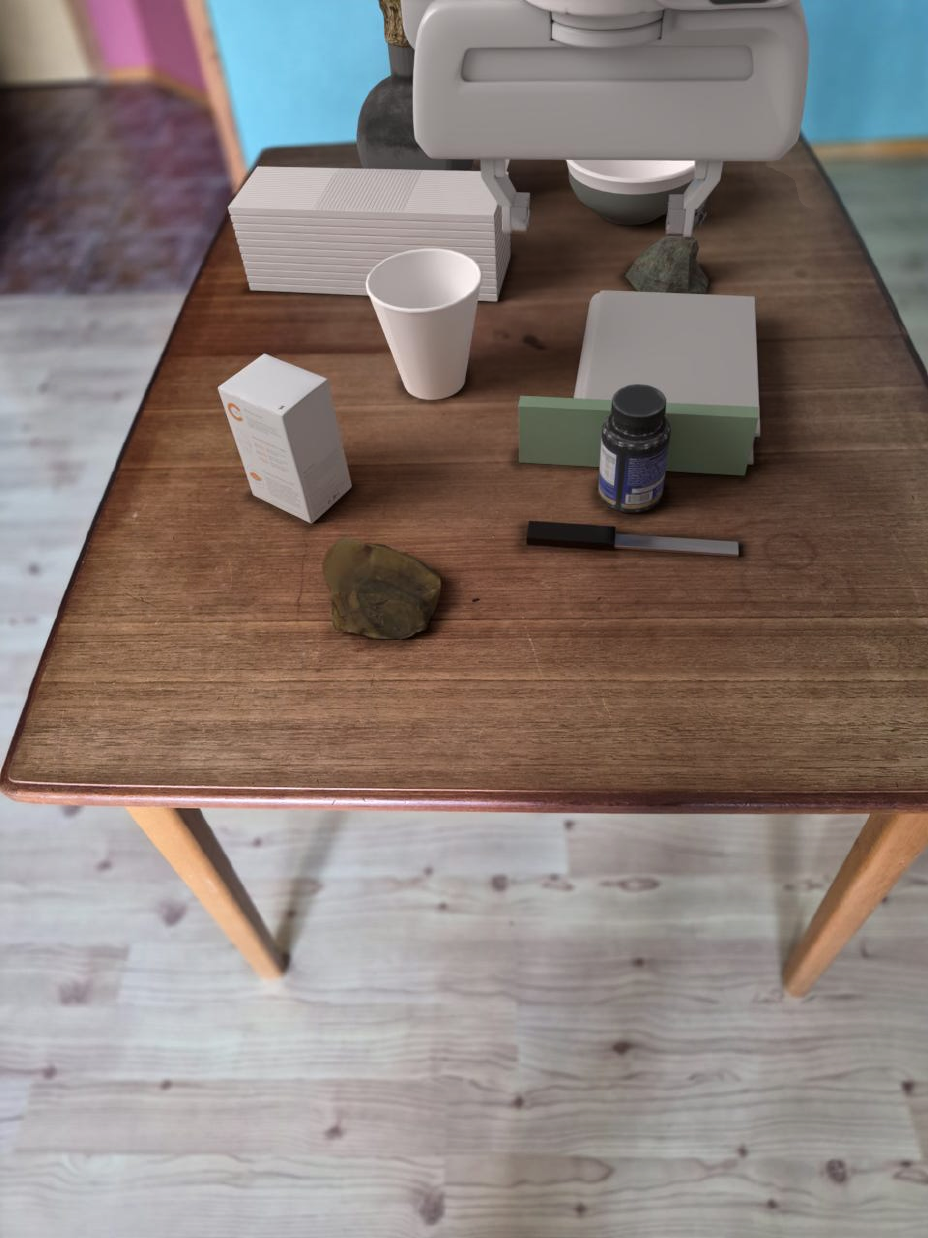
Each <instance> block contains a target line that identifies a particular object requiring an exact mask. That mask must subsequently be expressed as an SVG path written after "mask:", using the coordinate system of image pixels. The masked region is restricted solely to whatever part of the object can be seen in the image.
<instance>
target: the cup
mask: <svg viewBox="0 0 928 1238" xmlns="http://www.w3.org/2000/svg"><path fill="white" fill-rule="evenodd" d="M482 277H483V274H482V271H481V269H480V266H479V265H478V264H477V263H476V262H475V261H474V260H473V259H472V258H470V257H468V256H466V255H465V254H462V253H459V252H456V251H453V250H447V249H439V248H424V249H417V250H410V251H406V252H403V253H399V254H396V255H394V256H391V257H389V258H387V259H385V260H383V261H382V262H381V263H379V264H378V265H376V266H375V267H374V268H373V270H372V271H371V272H370V273H369V275H368V277H367V281H366V289H367V293H368V295H369V296H368V295H367V296H368V297H369V299H370V301H371V304H372V306H373V308H374V311H375V314H376V316H377V320H378V323H379V324H380V327H381V329H382V332H383V334H384V337H385V339H386V342H387V345H388V347H389V350H390V353H391V355H392V357H393V360H394V363H395V365H396V367H397V370H398V373H399V375H400V378H401V381H402V383H403V386H404V388H405V390H406V391H407V392H408V393H409V394H410V395H411V396H413V397H415V398H418V399H422V400H427V401H433V400H434V401H436V400H443V399H446V398H449V397H451V396H453V395H455V394H457V393H458V392H459V391H460V390H462V389H463V387H464V385H465V383H466V375H467V371H468V370H467V369H468V363H469V359H470V358H469V357H470V352H471V351H470V350H471V345H472V339H473V333H474V328H475V327H474V326H475V320H476V314H477V308H478V296H479V290H480V286H481V284H482Z"/></svg>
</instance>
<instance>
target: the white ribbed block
mask: <svg viewBox="0 0 928 1238" xmlns="http://www.w3.org/2000/svg"><path fill="white" fill-rule="evenodd" d="M509 173H510V172H509V171H506V174H507V175H508V177H509V178H510V175H509ZM227 209H228V214H229V215H230V216H229V217H230V220H231V223H232V228H233V231H234V235H235V238H236V243H237V246H238V250H239V253H240V257H241V261H243V262H242V265H243V268H244V272H245V275H246V280H247V283H248V287H249V290H250V291H262V292H283V293H304V294H305V293H306V294H307V293H308V294H325V295H326V294H327V295H329V294H330V295H346V296H347V295H350V296H368V297H370V296H369V295H368V293H367V289H366V281H367V277H368V275H369V273H370V272H371V271H372V270H373V268H374V267H375V266H376V265H378V264H379V263H381V262H382V261H383V260H385V259H387V258H389V257H391V256H394V255H396V254H399V253H403V252H406V251H410V250H417V249H424V248H439V249H447V250H453V251H456V252H459V253H462V254H465V255H466V256H468V257H470V258H472V259H473V260H474V261H475V262H476V263H477V264H478V265H479V266H480V269H481V271H482V274H483V277H482V284H481V286H480V290H479V296H478V301H479V302H498V300H499V297H500V293H501V290H502V287H503V283H504V280H505V276H506V274H507V269H508V267H509V263H510V260H511V254H512V253H511V234H503V231H502V206H499V205H498V203H497V202H496V200H495V199H494V197H493V195H492V194H491V192H490V191H489V189H488V188H487V186H486V184H485V183H484V181H483V180H482V178H481V170H470V171H446V170H399V169H363V168H353V167H351V168H349V167H345V168H343V167H342V168H341V167H307V166H306V167H303V166H301V167H300V166H261V165H260V166H256V167H255V169H254V170H253V172H252V173H251V174H250V176H249V178H248V179H247V180H246V181H245V183H244V184H243V185H242V187H241V188H240V190H239V191H238V193H237V194H236V195H235V197H234V198H233V199H232V201H231V202H230V203H229V205H228V206H227Z"/></svg>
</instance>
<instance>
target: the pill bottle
mask: <svg viewBox="0 0 928 1238" xmlns="http://www.w3.org/2000/svg"><path fill="white" fill-rule="evenodd" d="M665 413H666V398H665V395H664V394H663V393H662V392H661V391H660V390H659V389H657V388H655V387H652V386H649V385H643V384H634V385H628V386H626V387H623V388H621V389H619V390H618V391H617V392H616V393H615V394H614V395H613V398H612V404H611V413H610V414H609V415H608V416H607V418H606V419H605V421H604V423H603V426H602V437H601V454H600V467H599V473H598V486H597V488H598V489H597V491H598V496H599V498H600V499H601V502H602V503H603V504H604V505H606V506H607V507H608V508H609V509H611V510H614V511H617V512H621V513H624V514H625V513H626V514H638V513H639V514H640V513H643V512H647V511H649V510H651V509H653V508H654V507H655V506H657V504H658V503H659V502H660V501H661V499H662V496H663V493H664V484H665V478H666V472H667V471H666V463H667V456H668V448H669V441H670V434H671V428H670V424H669V422H668V420H667V418H666V417H665V416H664V415H665Z"/></svg>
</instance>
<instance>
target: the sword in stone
mask: <svg viewBox="0 0 928 1238" xmlns="http://www.w3.org/2000/svg"><path fill="white" fill-rule="evenodd" d="M713 191H714V189H713V190H712V191H711V193H710V194H709V195H708V197H707V198H706V199H705V200H704V202H703V203H702V204H701V206H700V207H699V208H698V209H695V213H697V214H696V215H695V216H694V222H693V229H692V234H693V233H694V231H695V229H696V227H697V225H698V224H699V226H698V227H697V229H699V228H700V227H701V226H702V225H703V222H704V221H705V220H706V217H707V216H708V215H707V212H704V210H705V207H706V205H707V203H708V200H709V199H710V197H711V195H712V192H713ZM701 215H703V217H702V219H701V220H700V217H701ZM699 250H700V247H699V244H698V240H697V239H696V238H695V236H693V235H691V237H665V236H663V237H662V238H660V239H659V240H658V241H656V242H655V243H653V244H652V245H650V246H649V247H648V248H647V249H645V250H644V251H643V252H642V253H641V254H640V255H639V256H638V257H637V258H636V259H635V261H634V262H633V263H632V265H631V266H630V268H629V269H628V271H627V273H626V275H625V279H626V280H628V282H629V283H630V284H631V285H632V286H633V287H634V289H635V290H636V292H658V293H682V294H706V293H707V290H708V285H709V282H710V280H709V279H708V277H707V276H706V274H705V273H704V272H703V269H702V268H701V267H700V265H699V264H698V260H697V256H698V252H699Z"/></svg>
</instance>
